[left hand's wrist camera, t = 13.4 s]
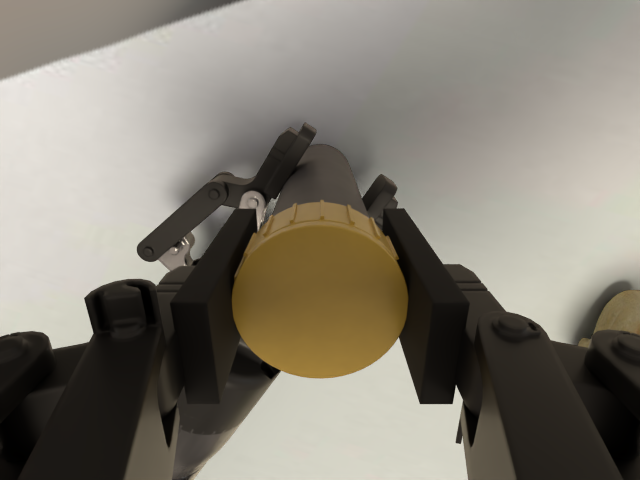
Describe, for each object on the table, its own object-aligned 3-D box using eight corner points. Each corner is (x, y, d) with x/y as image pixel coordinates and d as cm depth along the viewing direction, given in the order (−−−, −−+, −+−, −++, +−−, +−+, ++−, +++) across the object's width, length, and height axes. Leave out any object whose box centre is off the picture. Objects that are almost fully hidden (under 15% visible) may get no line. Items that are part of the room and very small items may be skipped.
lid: (428, 271, 12) (449, 307, 10) (321, 360, 13) (322, 407, 11) (318, 164, 11) (318, 181, 9) (212, 274, 12) (191, 311, 10)
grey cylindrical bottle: (352, 202, 26) (394, 351, 11) (293, 207, 26) (257, 361, 11) (348, 141, 24) (392, 222, 10) (286, 147, 25) (234, 235, 10)
